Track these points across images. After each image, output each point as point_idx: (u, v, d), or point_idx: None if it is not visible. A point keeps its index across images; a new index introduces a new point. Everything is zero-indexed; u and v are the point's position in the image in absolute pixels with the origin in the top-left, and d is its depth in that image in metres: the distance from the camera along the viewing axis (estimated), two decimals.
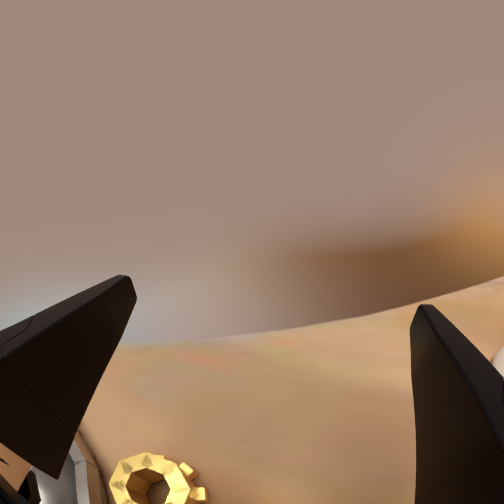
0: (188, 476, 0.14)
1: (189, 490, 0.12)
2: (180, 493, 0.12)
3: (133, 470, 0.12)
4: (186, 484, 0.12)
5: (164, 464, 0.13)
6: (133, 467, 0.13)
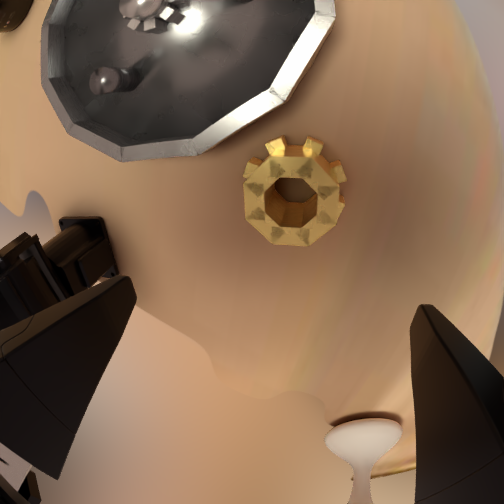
0: None
1: (306, 245, 0.16)
2: (299, 239, 0.16)
3: (306, 179, 0.14)
4: (313, 241, 0.16)
5: (330, 213, 0.14)
6: (310, 178, 0.14)
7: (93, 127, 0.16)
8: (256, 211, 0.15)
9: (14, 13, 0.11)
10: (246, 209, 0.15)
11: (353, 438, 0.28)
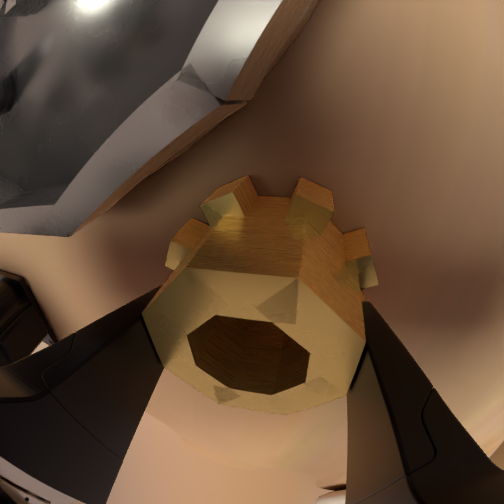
0: None
1: (283, 412, 0.07)
2: (267, 406, 0.07)
3: (282, 326, 0.05)
4: (295, 409, 0.07)
5: (335, 381, 0.06)
6: (293, 322, 0.05)
7: None
8: (179, 361, 0.07)
9: None
10: (160, 354, 0.07)
11: None
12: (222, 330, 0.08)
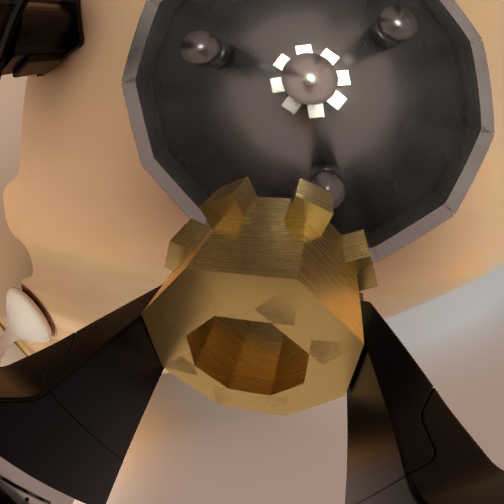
0: None
1: (281, 412, 0.07)
2: (266, 406, 0.07)
3: (281, 327, 0.05)
4: (294, 410, 0.07)
5: (334, 381, 0.06)
6: (292, 324, 0.05)
7: (157, 28, 0.12)
8: (178, 361, 0.07)
9: None
10: (160, 354, 0.07)
11: (23, 312, 0.32)
12: (221, 330, 0.08)
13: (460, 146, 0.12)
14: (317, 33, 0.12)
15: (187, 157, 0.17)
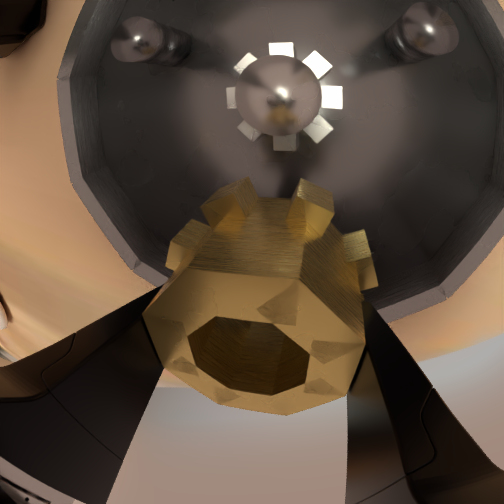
0: None
1: None
2: (267, 406, 0.07)
3: (282, 327, 0.05)
4: (295, 410, 0.07)
5: (335, 382, 0.06)
6: (294, 324, 0.05)
7: (105, 11, 0.08)
8: (179, 361, 0.07)
9: None
10: (160, 355, 0.07)
11: None
12: (222, 331, 0.08)
13: (475, 211, 0.09)
14: (309, 29, 0.08)
15: (125, 176, 0.13)
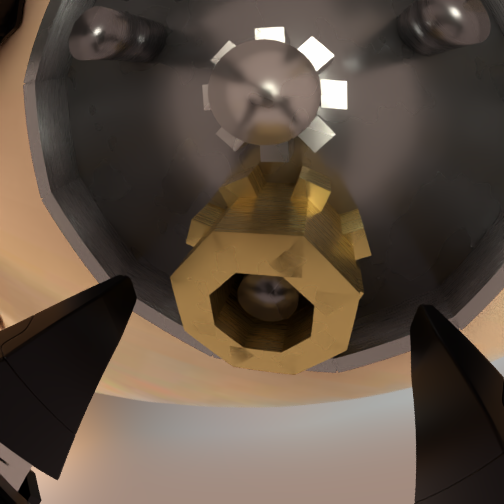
0: None
1: (291, 372, 0.09)
2: (277, 365, 0.08)
3: (291, 280, 0.07)
4: (302, 368, 0.08)
5: (337, 334, 0.07)
6: (300, 276, 0.07)
7: (73, 5, 0.06)
8: (200, 322, 0.08)
9: None
10: (183, 317, 0.08)
11: None
12: (236, 298, 0.10)
13: (496, 231, 0.08)
14: (305, 13, 0.06)
15: (99, 189, 0.12)
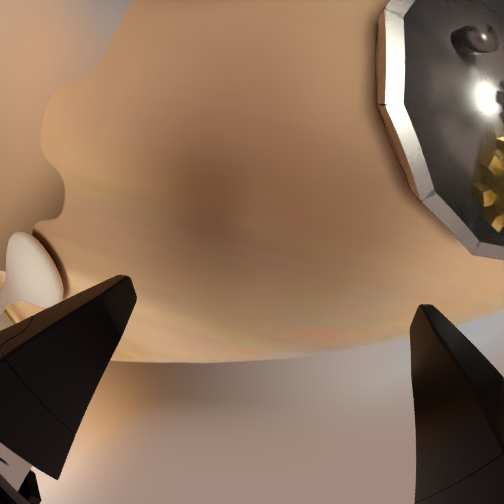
0: None
1: None
2: None
3: None
4: None
5: None
6: None
7: None
8: None
9: None
10: None
11: (33, 266, 0.25)
12: None
13: None
14: None
15: (411, 118, 0.13)
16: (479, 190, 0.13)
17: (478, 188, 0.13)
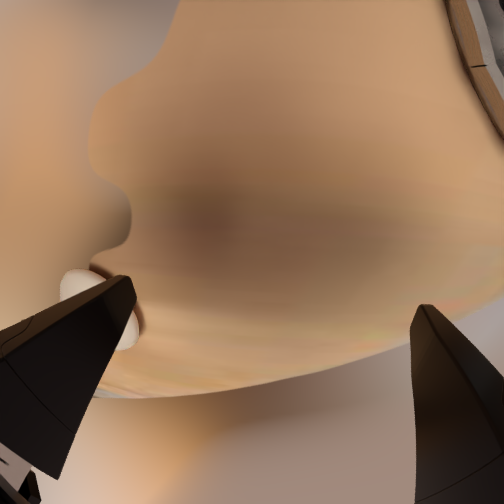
0: None
1: None
2: None
3: None
4: None
5: None
6: None
7: None
8: None
9: None
10: None
11: None
12: None
13: None
14: None
15: None
16: None
17: None
